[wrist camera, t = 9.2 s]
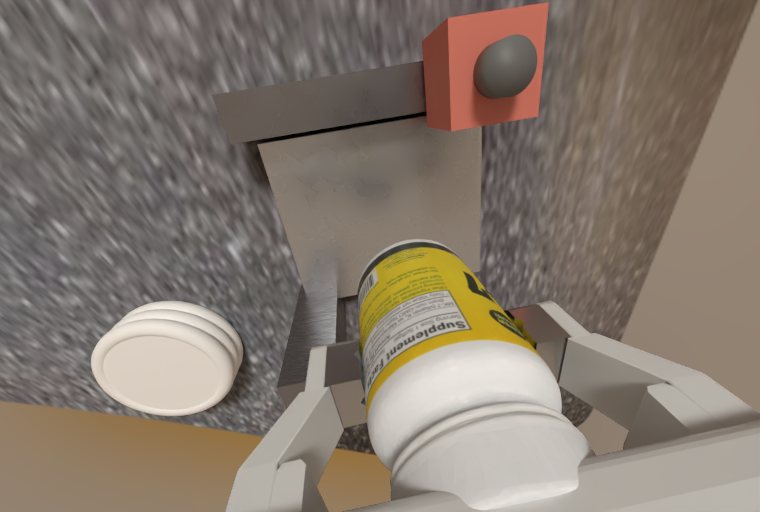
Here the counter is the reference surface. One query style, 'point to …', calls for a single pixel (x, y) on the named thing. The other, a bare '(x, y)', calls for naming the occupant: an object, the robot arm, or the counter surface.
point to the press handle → (485, 67)
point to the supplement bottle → (457, 386)
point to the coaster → (168, 358)
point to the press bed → (355, 186)
